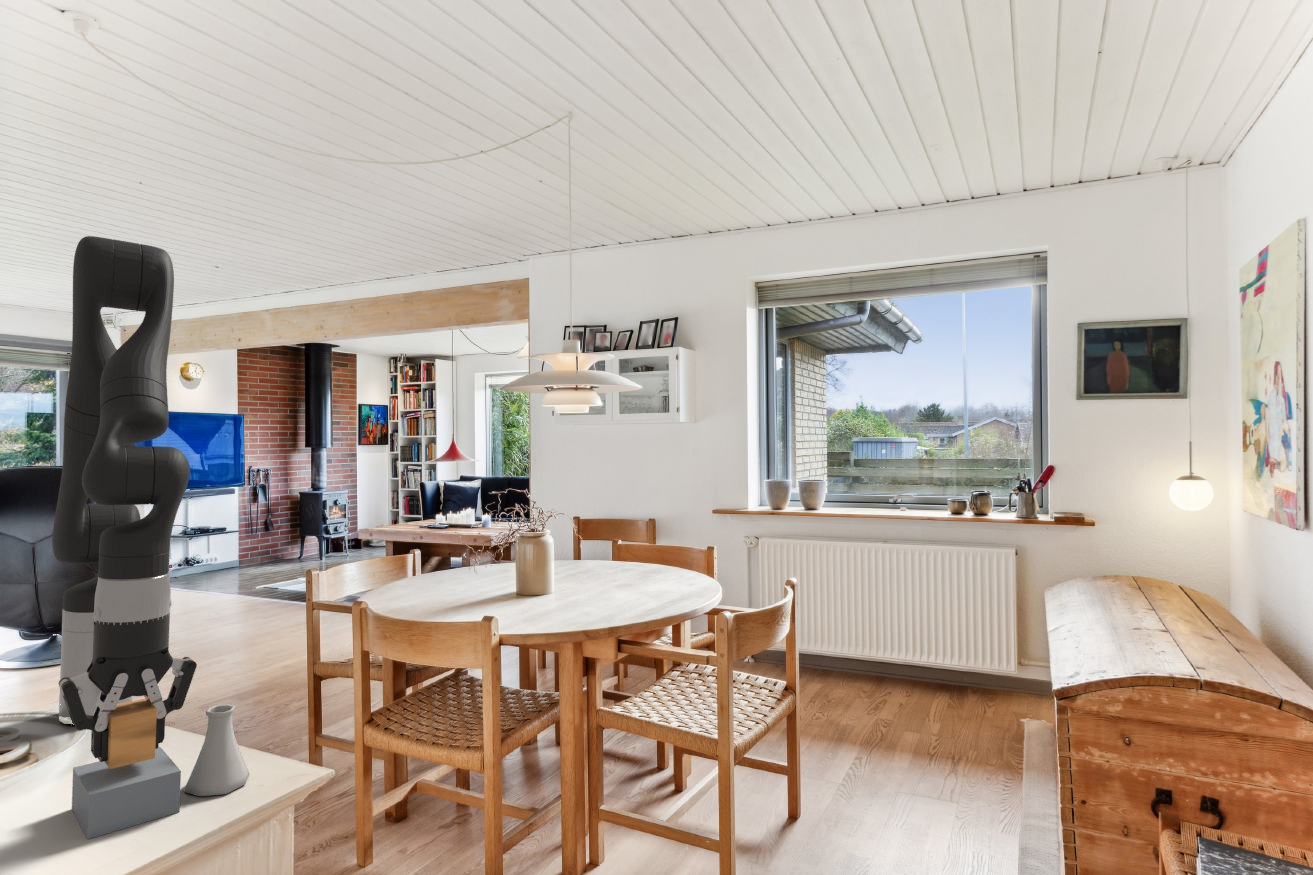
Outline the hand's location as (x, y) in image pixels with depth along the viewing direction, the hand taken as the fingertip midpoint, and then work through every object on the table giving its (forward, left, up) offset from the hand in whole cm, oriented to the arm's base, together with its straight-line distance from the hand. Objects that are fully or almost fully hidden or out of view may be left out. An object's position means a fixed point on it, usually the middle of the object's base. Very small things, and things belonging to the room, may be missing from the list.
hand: (127, 752), depth 91 cm
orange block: (0, 0, -1) cm, 1 cm away
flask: (0, +10, -7) cm, 12 cm away
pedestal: (0, 0, -7) cm, 7 cm away
